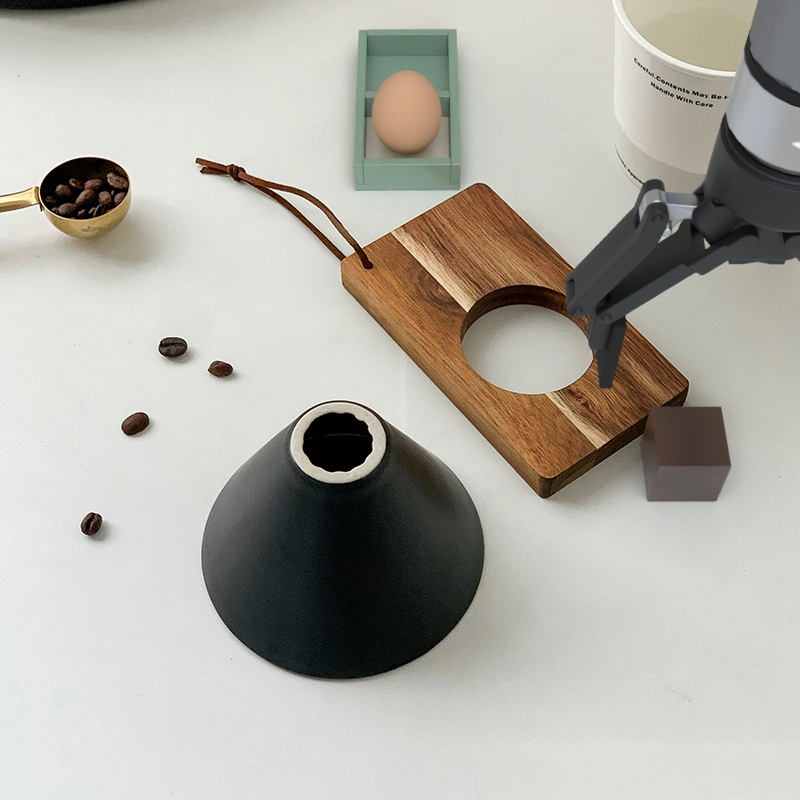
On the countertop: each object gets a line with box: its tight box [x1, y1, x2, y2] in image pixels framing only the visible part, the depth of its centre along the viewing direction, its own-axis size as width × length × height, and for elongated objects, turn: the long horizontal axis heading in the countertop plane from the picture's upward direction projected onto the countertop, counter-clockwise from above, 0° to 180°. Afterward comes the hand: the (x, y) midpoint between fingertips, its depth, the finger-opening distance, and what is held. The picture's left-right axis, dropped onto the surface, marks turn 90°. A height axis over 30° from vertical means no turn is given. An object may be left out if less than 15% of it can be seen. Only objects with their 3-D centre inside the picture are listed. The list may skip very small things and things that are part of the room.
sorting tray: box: [353, 28, 462, 191], centre depth 107 cm, size 9×17×3 cm, turn 0°
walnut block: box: [640, 406, 732, 502], centre depth 86 cm, size 5×5×5 cm
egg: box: [372, 70, 442, 154], centre depth 102 cm, size 6×6×8 cm
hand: (708, 372), depth 77 cm, fingers open, 13 cm apart
